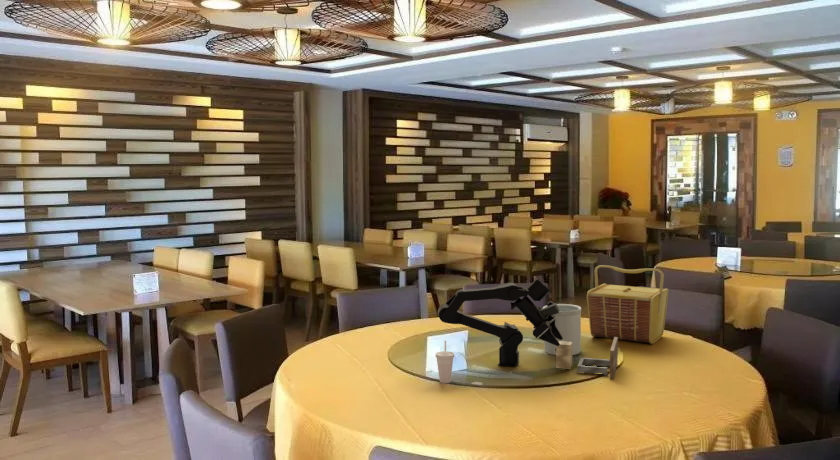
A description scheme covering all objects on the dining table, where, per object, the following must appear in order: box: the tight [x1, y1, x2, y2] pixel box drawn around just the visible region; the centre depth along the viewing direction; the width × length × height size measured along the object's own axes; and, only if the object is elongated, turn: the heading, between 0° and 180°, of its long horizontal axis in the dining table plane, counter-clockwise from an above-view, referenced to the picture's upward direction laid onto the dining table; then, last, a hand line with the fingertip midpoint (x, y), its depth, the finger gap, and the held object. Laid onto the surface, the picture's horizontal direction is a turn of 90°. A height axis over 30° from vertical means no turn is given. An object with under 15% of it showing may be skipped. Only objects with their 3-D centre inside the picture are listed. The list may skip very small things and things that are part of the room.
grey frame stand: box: [576, 337, 619, 380], centre depth 254 cm, size 13×20×10 cm, turn 161°
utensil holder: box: [542, 303, 582, 356], centre depth 280 cm, size 15×15×18 cm
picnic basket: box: [586, 264, 669, 345], centre depth 301 cm, size 29×26×30 cm
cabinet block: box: [555, 341, 573, 369], centre depth 258 cm, size 6×5×9 cm
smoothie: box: [435, 340, 455, 384], centre depth 243 cm, size 6×6×14 cm
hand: (560, 342), depth 259 cm, fingers open, 9 cm apart
